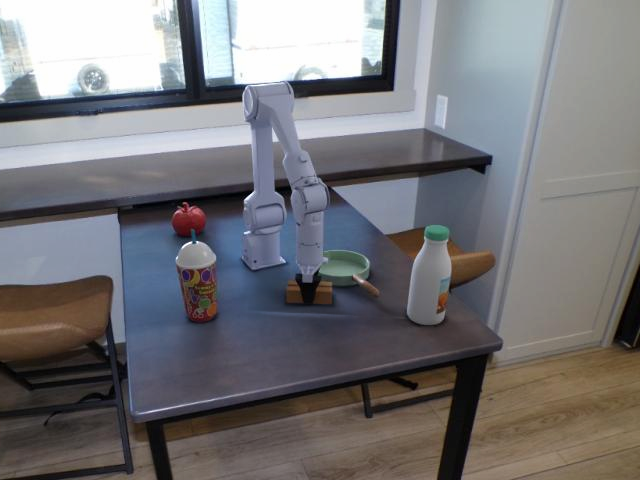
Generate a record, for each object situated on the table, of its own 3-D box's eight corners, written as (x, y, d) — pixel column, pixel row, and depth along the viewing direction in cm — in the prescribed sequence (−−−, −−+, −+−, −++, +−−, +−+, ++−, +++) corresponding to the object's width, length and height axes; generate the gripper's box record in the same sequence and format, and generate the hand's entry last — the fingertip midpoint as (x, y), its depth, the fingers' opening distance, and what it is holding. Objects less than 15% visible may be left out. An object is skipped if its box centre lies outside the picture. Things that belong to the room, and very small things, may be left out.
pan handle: (350, 280, 122) (350, 273, 121) (357, 278, 123) (357, 271, 122) (374, 299, 114) (374, 292, 113) (381, 297, 114) (381, 290, 114)
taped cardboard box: (286, 304, 116) (286, 289, 115) (288, 294, 120) (288, 280, 119) (331, 305, 115) (331, 291, 113) (331, 295, 119) (332, 281, 117)
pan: (326, 292, 120) (327, 281, 119) (299, 267, 132) (299, 256, 131) (380, 279, 125) (381, 268, 124) (349, 256, 137) (350, 245, 135)
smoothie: (205, 329, 108) (195, 241, 98) (175, 319, 112) (162, 233, 102) (229, 311, 114) (222, 226, 104) (199, 302, 118) (190, 219, 108)
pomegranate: (213, 233, 153) (210, 203, 148) (182, 241, 148) (178, 211, 144) (197, 223, 160) (194, 194, 155) (167, 231, 155) (163, 201, 151)
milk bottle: (423, 330, 106) (436, 239, 96) (398, 313, 112) (408, 226, 102) (452, 320, 109) (467, 231, 99) (426, 303, 115) (438, 218, 105)
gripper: (327, 255, 104) (325, 313, 111) (329, 227, 116) (327, 281, 123) (292, 254, 105) (292, 311, 111) (298, 226, 117) (298, 280, 124)
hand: (309, 295), depth 117 cm, fingers open, 6 cm apart
